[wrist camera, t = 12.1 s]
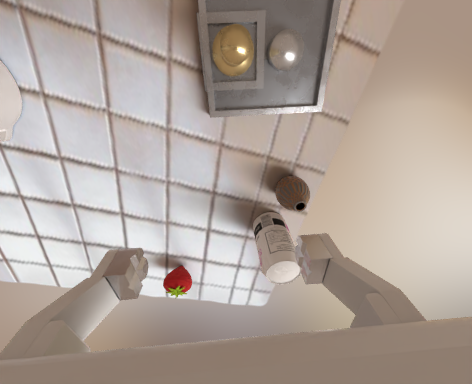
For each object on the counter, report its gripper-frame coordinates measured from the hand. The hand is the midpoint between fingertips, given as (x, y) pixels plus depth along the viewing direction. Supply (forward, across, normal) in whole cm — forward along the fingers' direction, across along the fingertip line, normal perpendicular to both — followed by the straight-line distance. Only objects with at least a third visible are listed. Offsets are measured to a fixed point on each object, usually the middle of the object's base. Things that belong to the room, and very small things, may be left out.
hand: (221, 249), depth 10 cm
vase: (+31, -14, +14) cm, 37 cm away
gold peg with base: (+30, -2, -11) cm, 32 cm away
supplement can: (+31, -10, +25) cm, 41 cm away
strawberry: (+31, +15, +39) cm, 52 cm away
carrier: (+31, -8, -11) cm, 34 cm away
